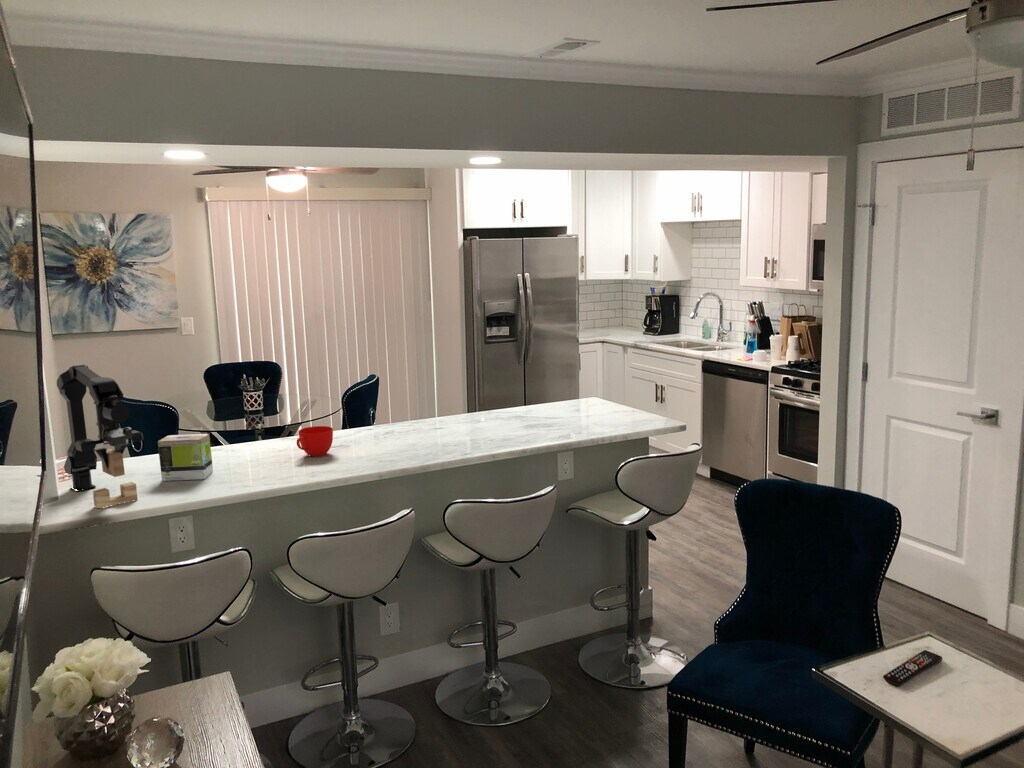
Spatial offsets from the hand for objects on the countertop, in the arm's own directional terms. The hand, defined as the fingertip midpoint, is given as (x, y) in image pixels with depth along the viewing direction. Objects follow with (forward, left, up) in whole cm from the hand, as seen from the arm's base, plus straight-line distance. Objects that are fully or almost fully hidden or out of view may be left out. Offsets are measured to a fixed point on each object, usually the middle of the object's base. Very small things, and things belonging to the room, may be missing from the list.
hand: (112, 467), depth 256 cm
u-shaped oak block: (0, 0, -12) cm, 12 cm away
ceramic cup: (-1, +74, -12) cm, 75 cm away
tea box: (-12, +29, -12) cm, 33 cm away
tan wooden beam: (0, 0, -2) cm, 2 cm away
